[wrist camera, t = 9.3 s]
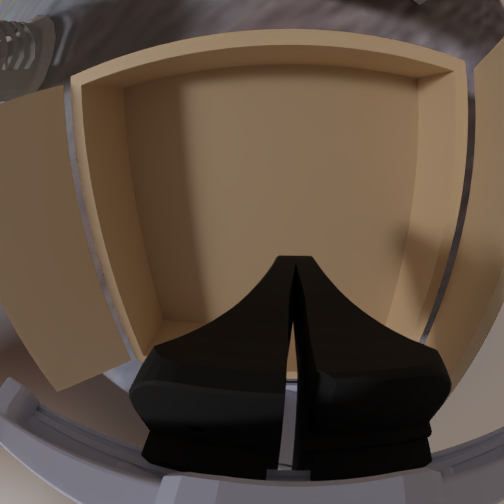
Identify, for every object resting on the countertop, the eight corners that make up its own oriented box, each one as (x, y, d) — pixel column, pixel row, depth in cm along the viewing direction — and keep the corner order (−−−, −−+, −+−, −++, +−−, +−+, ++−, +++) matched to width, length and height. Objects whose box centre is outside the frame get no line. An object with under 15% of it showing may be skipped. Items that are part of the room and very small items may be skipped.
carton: (389, 329, 21) (404, 373, 16) (159, 321, 23) (137, 361, 19) (423, 70, 12) (464, 60, 7) (118, 80, 14) (70, 76, 10)
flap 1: (57, 391, 15) (56, 387, 15) (131, 359, 19) (129, 355, 19) (-44, 123, 6) (-42, 124, 6) (63, 84, 10) (63, 86, 10)
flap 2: (410, 372, 16) (417, 374, 16) (387, 456, 11) (396, 458, 10) (473, 69, 7) (483, 72, 7) (515, 24, 2) (532, 31, 2)
